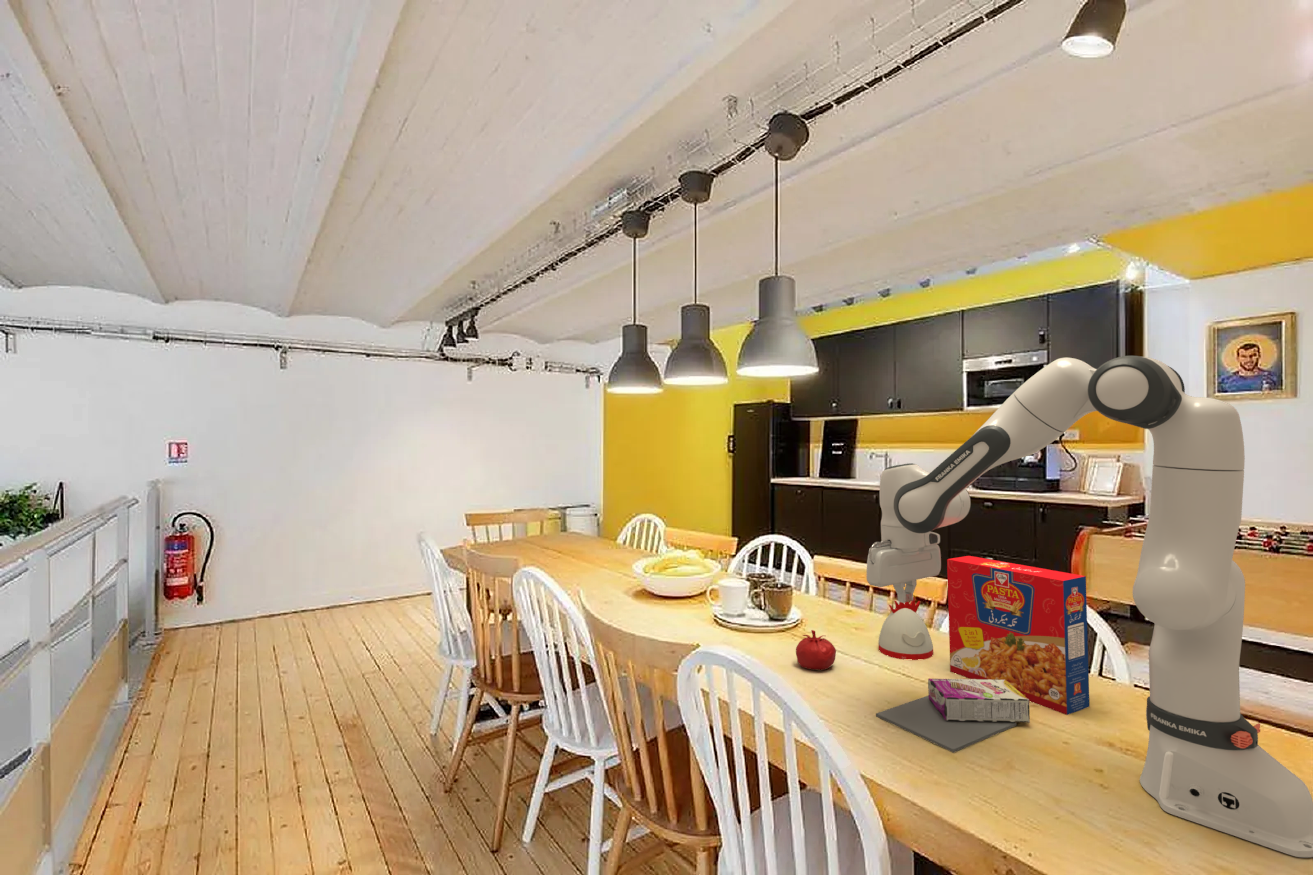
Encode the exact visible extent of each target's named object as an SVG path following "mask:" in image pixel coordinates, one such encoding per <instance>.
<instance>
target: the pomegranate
mask: <svg viewBox="0 0 1313 875" xmlns="http://www.w3.org/2000/svg"><path fill="white" fill-rule="evenodd" d="M810 632H811V634H812V637H811V636H810V635H808V634H802V636H803V639H801V640H800V641H799V642H798V644H797V645H796V647H795V656H796V660H797V663H798V665H799V666H800V667H802V668H804V669H808V670H811V671H812V670H815V671H825V670H827V669H829V668H831V666H833V664H834V663H835V661H836V655H837V654H836V653H837V650H836V647H835V645H833V643H832V642H831V641H829V640H828V639H826V638H823V637H825V635H820V636H818V637H817V636H816V635H817V634H816V631H815V630H814V629H811V631H810Z"/></svg>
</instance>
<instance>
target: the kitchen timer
mask: <svg viewBox="0 0 1313 875" xmlns="http://www.w3.org/2000/svg"><path fill="white" fill-rule="evenodd" d="M893 602H894V605H895V608H893V606H892V605H890V604H888V605H889V608H890V610H891V612H890V613H889V614H888V615H887V617H886V618H885V619H884V622H883V624H882V626H881V630H880V631H879V632H880V633H879V634H878V635H879V636H878V642H877V644H878V651H879V650H880V651H879V652H880V653H881V654H883V655H884V656H887V655H888V656H887V657H890V658H892V659H898V660H904V659H912V660H911V661H919V660H918V659H923V660H926V659H927V660H928V659H930V658H932V657H933V656H932V655H934V646H933V640H932V638H931V635H930V632H929V629H928V627H927V626H928V624H927V623H926V622H925V621H924V619H922V618H921V616H920V615H919V614H918V613H917V612H918V609H919V608H920V604H921V601H920V600H918V601H917V602H916V597H914V596H913V601H909V602H905V603H902V602H899V601H898V600H894V601H893ZM898 602H899V603H898Z"/></svg>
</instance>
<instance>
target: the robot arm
mask: <svg viewBox="0 0 1313 875" xmlns="http://www.w3.org/2000/svg"><path fill="white" fill-rule="evenodd" d="M1185 390H1186V388H1185V383H1184V380H1183V378H1182V376H1181V375H1180V374H1179V373H1178V372H1177V371H1176V370H1175V369H1174V368H1173V367H1170V365H1167V364H1166V363H1164V362H1162V361H1161V360H1158V359H1156V358H1152V357H1147V356H1140V355H1123V356H1119V357H1115V358H1112V359H1110V360H1108V361H1106V362H1104V363H1102V364H1101V365H1099V367H1097V368H1095V367H1093V366H1091V365H1090V364H1088V363H1086V362H1085V361H1084V360H1080V359H1077V358H1074V357H1073V358H1072V357H1060V358H1057V359H1055V360H1054V361H1052V362H1049V363H1048V364H1047V365H1045V366H1044V367H1042V368H1041V369H1040V370H1038V371H1037V372H1036V373H1035V374H1034V375H1032V376H1031V377H1030V378H1028V379H1027V380H1026V381H1025V382H1024V383H1022V384H1021V385H1020V386H1019V387H1018V388H1017V389H1016V390H1015V391H1013V393H1012V394H1010V396H1009V397H1008V398H1006V400H1005V401H1004V402H1003V403H1001V405H1000V406H999V407H998V408H997V409H996V410H995V411H994V412H993V414H992V415H991V416H990V417H989V418H988V419H987V420H986V421H985V422H984V423H983V424H982V425H981V426H980V427H979V428H978V429H977V430H976V431H975V432H974V434H972V435H971V437H969V438H968V439H967V440H965V442H964V443H962V444H961V445H960V446H959V447H958V448H957V449H955V451H953V452H952V453H951V454H950V455H949V456H948V457H947V458H945V460H943V461H942V462H941V463H940V464H938V465H937V466H936V467H935V468H934V469H933V470H932V471H931V472H928V471H926V470H924V469H923V468H921V466H919V465H918V464H916V463H908V462H907V463H903V464H895V465H892V466H891V465H890V466H888V467H885V469H884V470H882V472H881V475H880V478H879V506H880V508H881V520H880V537H881V541H875V542H874V543H872V545H871V546H870V548H869V550H868V555H867V560H866V582H867V583H868V585H869V586H873V587H877V588H883V587H888V586H892V587H893V588H894V590H895V592H896V594H897V602H902V603H904V604H905V602H909V603H910V602H911V601H913V597H914V593H915V591H916V590H915V589H916V587H917V580H923V579H927V578H933V577H936V576H939V574H940V572H941V569H942V558H941V557H942V554H941V548H940V546H939V544H940V543H941V535H940V534H939V533H937V532H933V531H934V530H936V529H940V528H943V527H947V526H951V525H954V524H956V523H959V522H960V521H962V520H964V519H966V517H967V516H968V515H969V513H970V512H971V511H970V510H971V506H972V500H971V496H970V494H969V492H968V490H967V488H968V487H970V486H971V485H972V484H973V483H974V482H975V481H977V479H979V478H980V477H981V476H982V475H984V474H986V473H987V472H988V471H989V470H991V469H994V468H996V467H999V466H1000V465H1003V464H1006V463H1008V462H1010V461H1011V462H1012V461H1015V460H1018V459H1022V458H1025V457H1029V456H1032V455H1035V453H1037V452H1039V451H1041V450H1042V449H1044V448H1046V447H1047V446H1049V445H1050V444H1052V443H1053V442H1054V441H1056V440H1057V439H1058V438H1059V437H1060V436H1062V435H1063V434H1064V433H1066V432H1067V430H1069V429H1070V428H1071V427H1072V426H1073V425H1074V424H1075V423H1077V422H1078V421H1079V420H1080V419H1082V418H1083V417H1084V416H1086V415H1088V414H1091V413H1093V412H1098V413H1099V414H1101V415H1102V416H1104V417H1106V418H1107V419H1109V420H1113V421H1116V422H1119V423H1123V424H1127V425H1131V426H1134V427H1137V428H1141V429H1145V430H1149V432H1150V434H1151V437H1152V441H1153V456H1152V457H1153V458H1152V475H1151V489H1150V495H1151V496H1150V507H1149V515H1148V520H1147V525H1146V529H1145V533H1144V537H1143V542H1142V545H1141V551H1140V556H1139V561H1138V568H1137V573H1136V577H1135V579H1134V583H1133V586H1132V598H1133V601H1134V604H1135V606H1136V608H1137V610H1138V611H1139V612H1140V613H1141V614H1142V615H1143V616H1144V617H1145V618H1146V619H1147V620H1149V621H1150V622H1152V623H1154V627H1153V632H1152V638H1151V641H1150V645H1149V649H1148V677H1149V678H1148V679H1149V696H1148V697H1147V698H1146V709H1145V713H1146V714H1145V715H1146V716H1145V717H1146V724H1147V725H1146V727H1147V730H1148V732H1149V734H1148V745H1147V752H1146V756H1145V757H1146V758H1145V762H1144V766H1143V768H1142V772H1141V774H1140V777H1139V782H1140V783H1139V784H1140V786H1142V787H1143V788H1142V789H1144V790H1145V791H1146V792H1147V793H1148V794H1149V795H1151V796H1152V797H1153V799H1155V800H1156V801H1157V802H1158V804H1159V806H1160V808H1161V809H1162V810H1163V811H1164V812H1166V813H1168V814H1171V815H1173V816H1176V817H1179V818H1182V819H1185V820H1188V821H1190V822H1193V823H1196V824H1199V825H1202V826H1205V827H1208V828H1210V829H1214V830H1216V831H1220V832H1222V833H1225V834H1228V835H1231V836H1235V837H1236V838H1240V839H1243V840H1246V841H1249V842H1251V843H1254V844H1256V845H1260V846H1263V847H1266V848H1269V849H1271V850H1274V851H1277V852H1281V853H1284V854H1287V855H1289V856H1293V857H1296V858H1313V798H1312V794H1311V792H1310V790H1309V788H1308V786H1307V785H1306V783H1305V782H1304V781H1303V780H1302V779H1301V778H1300V777H1298V776H1297V775H1296V774H1295V773H1293V771H1291V770H1290V769H1288V768H1287V767H1286V766H1284V765H1283V764H1282V763H1280V761H1278V760H1277V759H1276V758H1275V757H1273V756H1272V755H1271V754H1270V753H1269V752H1267V751H1266V750H1265V749H1263V748H1262V747H1261V746H1260V745H1259V733H1261V723H1256V724H1255V725H1253V724H1251V723H1250V722H1249V721H1248V720H1247V719H1246V718H1245V717H1244V716H1243V714H1241V700H1240V699H1241V691H1240V688H1241V687H1240V658H1241V650H1242V643H1243V642H1242V641H1243V630H1244V619H1245V601H1246V600H1245V598H1246V597H1245V596H1246V579H1245V575H1244V573H1243V571H1242V569H1241V567H1239V565H1238V564H1237V563H1236V562H1235V561H1234V560H1233V557H1234V553H1235V552H1234V551H1235V547H1236V541H1237V537H1238V534H1239V533H1238V532H1239V530H1240V526H1241V522H1242V515H1243V514H1242V513H1243V511H1242V510H1243V494H1244V482H1245V480H1244V478H1245V462H1246V461H1245V459H1246V458H1245V442H1244V433H1243V427H1242V423H1241V417H1240V414H1239V412H1238V410H1237V409H1236V408H1235V407H1234V406H1233V405H1231V404H1230V403H1228V402H1226V401H1223V400H1221V399H1217V398H1213V397H1205V396H1204V397H1201V396H1192V395H1191V396H1190V395H1188V394H1187V393H1185Z"/></svg>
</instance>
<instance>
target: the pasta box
mask: <svg viewBox="0 0 1313 875" xmlns="http://www.w3.org/2000/svg"><path fill="white" fill-rule="evenodd" d="M946 562H947V564H946V565H947V566H946V568H947V569H946V570H947V571H946V572H947V573H946V574H947V597H948V598H947V603H948V606H947V607H948V637H949V672H950V673H953V674H955V673H956V674H955V675H958V676H961V677H964V678H966V679H998V680H1006V681H1007V682H1009V683H1010V684H1011V685H1012V686H1013V687H1014V688H1016V689H1017V690H1018V691H1019V692H1020V693H1021V694H1023V695H1024V696H1025V697H1026V698H1027V699H1029V702H1030V701H1031V703H1033V702H1034V704H1036V705H1039V706H1041V705H1042V707H1044V708H1047V709H1050V710H1053V711H1055V712H1058V713H1059V714H1060V713H1061V714H1063V715H1066V716H1069V715H1071V714H1074V713H1076V712H1079V711H1082V710H1084V709H1088V708H1090V679H1089V677H1090V676H1089V675H1090V674H1089V646H1088V645H1089V643H1088V640H1089V639H1088V638H1089V637H1088V611H1087V610H1088V608H1087V606H1088V605H1087V604H1088V603H1087V577H1086V575H1081V574H1075V573H1069V572H1064V571H1058V570H1053V569H1052V570H1051V569H1047V568H1041V567H1036V566H1029V565H1024V564H1018V563H1012V562H1008V561H1007V562H1006V561H1001V560H994V559H989V558H983V557H978V556H973V555H972V556H971V555H966V556H965V555H964V556H959V557H953V558H948V559H946Z"/></svg>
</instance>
